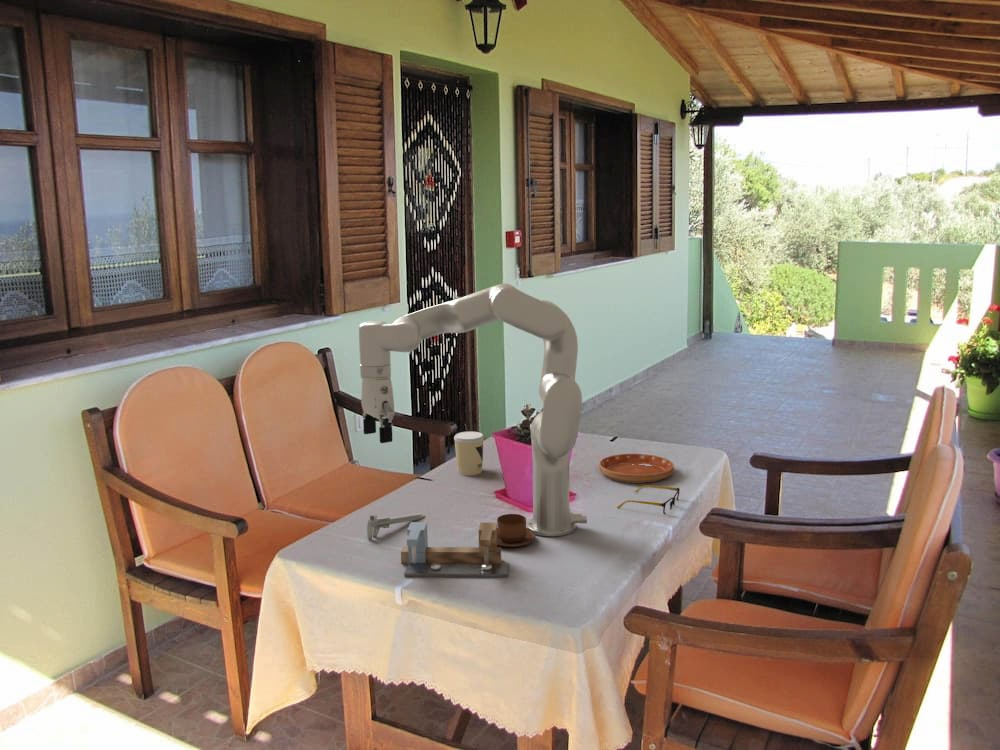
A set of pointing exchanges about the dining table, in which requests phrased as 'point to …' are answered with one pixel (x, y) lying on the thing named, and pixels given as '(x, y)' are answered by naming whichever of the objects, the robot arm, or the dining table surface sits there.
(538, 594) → the dining table surface
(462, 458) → the coffee cup
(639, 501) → the eyeglasses
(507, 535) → the cup and saucer
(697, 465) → the dining table surface
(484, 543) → the beam
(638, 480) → the saucer
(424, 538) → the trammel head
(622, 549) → the dining table surface
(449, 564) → the bolt plate
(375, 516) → the caliper
